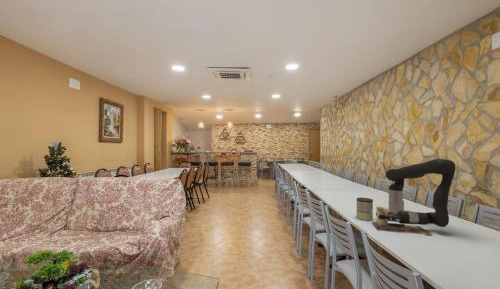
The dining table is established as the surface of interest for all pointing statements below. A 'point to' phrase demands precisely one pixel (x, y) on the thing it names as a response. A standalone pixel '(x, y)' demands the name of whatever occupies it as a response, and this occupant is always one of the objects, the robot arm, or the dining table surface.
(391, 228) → the board
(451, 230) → the dining table surface
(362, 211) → the coffee can
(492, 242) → the dining table surface
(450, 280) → the dining table surface
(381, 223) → the birch block
